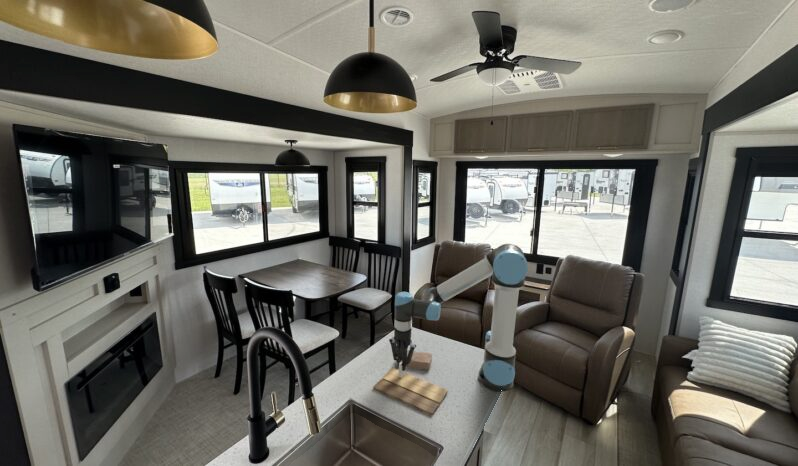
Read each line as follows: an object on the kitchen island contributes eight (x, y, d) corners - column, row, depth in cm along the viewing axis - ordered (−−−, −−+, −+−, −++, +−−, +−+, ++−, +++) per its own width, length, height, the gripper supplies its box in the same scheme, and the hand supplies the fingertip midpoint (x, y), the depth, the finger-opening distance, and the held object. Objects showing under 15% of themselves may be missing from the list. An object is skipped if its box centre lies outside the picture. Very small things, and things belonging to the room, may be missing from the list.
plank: (447, 392, 131) (447, 389, 131) (439, 405, 125) (439, 402, 124) (392, 369, 145) (392, 367, 145) (382, 380, 139) (382, 377, 139)
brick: (395, 366, 150) (396, 357, 149) (399, 356, 158) (399, 348, 157) (429, 371, 146) (430, 362, 145) (432, 361, 154) (432, 353, 153)
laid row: (438, 406, 124) (438, 403, 124) (432, 416, 119) (432, 413, 118) (381, 381, 138) (381, 378, 138) (373, 389, 133) (373, 386, 133)
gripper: (420, 328, 135) (418, 376, 139) (394, 320, 141) (393, 366, 146) (411, 335, 128) (410, 385, 133) (385, 326, 135) (384, 375, 139)
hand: (401, 375), depth 139 cm, fingers closed
